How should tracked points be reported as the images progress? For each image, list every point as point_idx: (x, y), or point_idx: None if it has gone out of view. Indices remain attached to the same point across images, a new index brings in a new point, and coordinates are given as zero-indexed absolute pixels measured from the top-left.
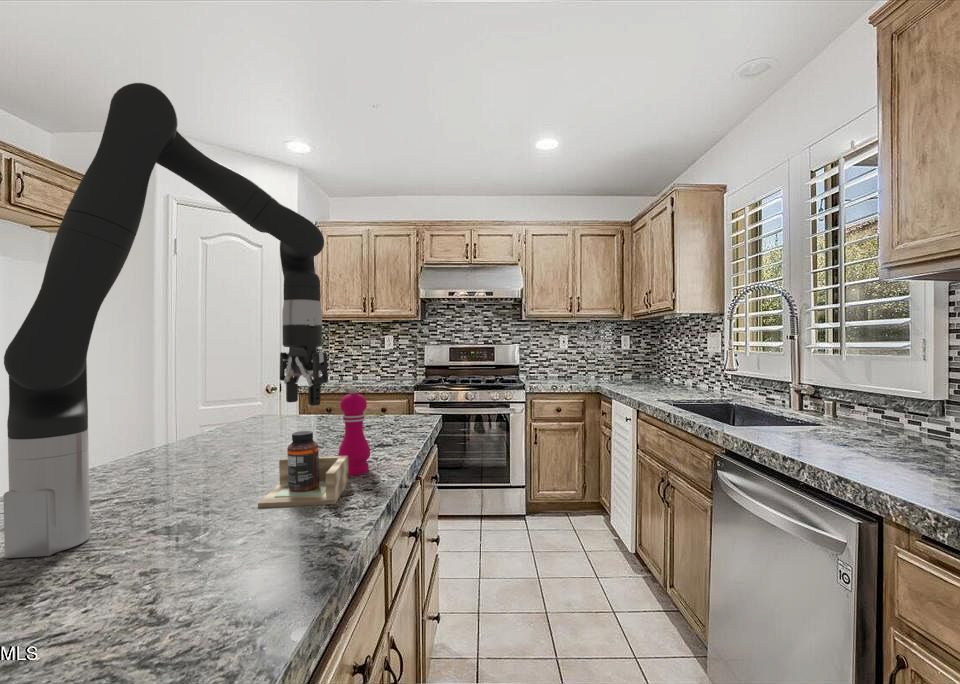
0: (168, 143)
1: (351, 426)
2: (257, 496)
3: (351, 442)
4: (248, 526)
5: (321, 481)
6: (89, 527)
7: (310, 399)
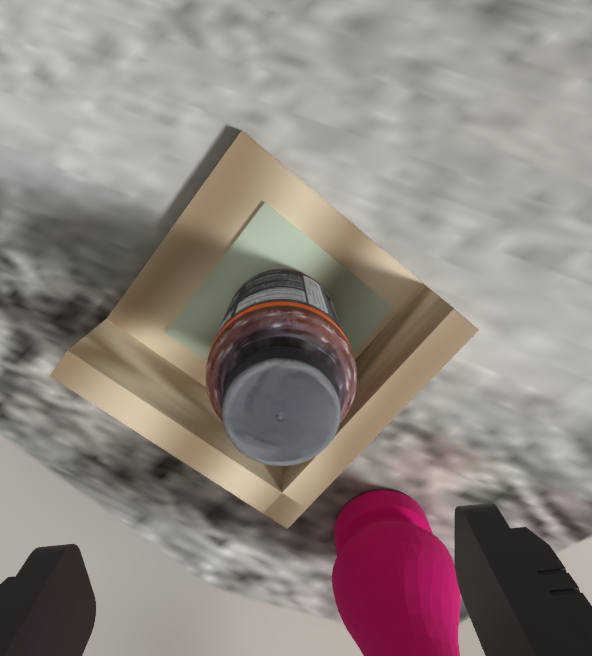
0: None
1: None
2: (377, 179)
3: (370, 603)
4: (66, 31)
5: None
6: None
7: (7, 589)
